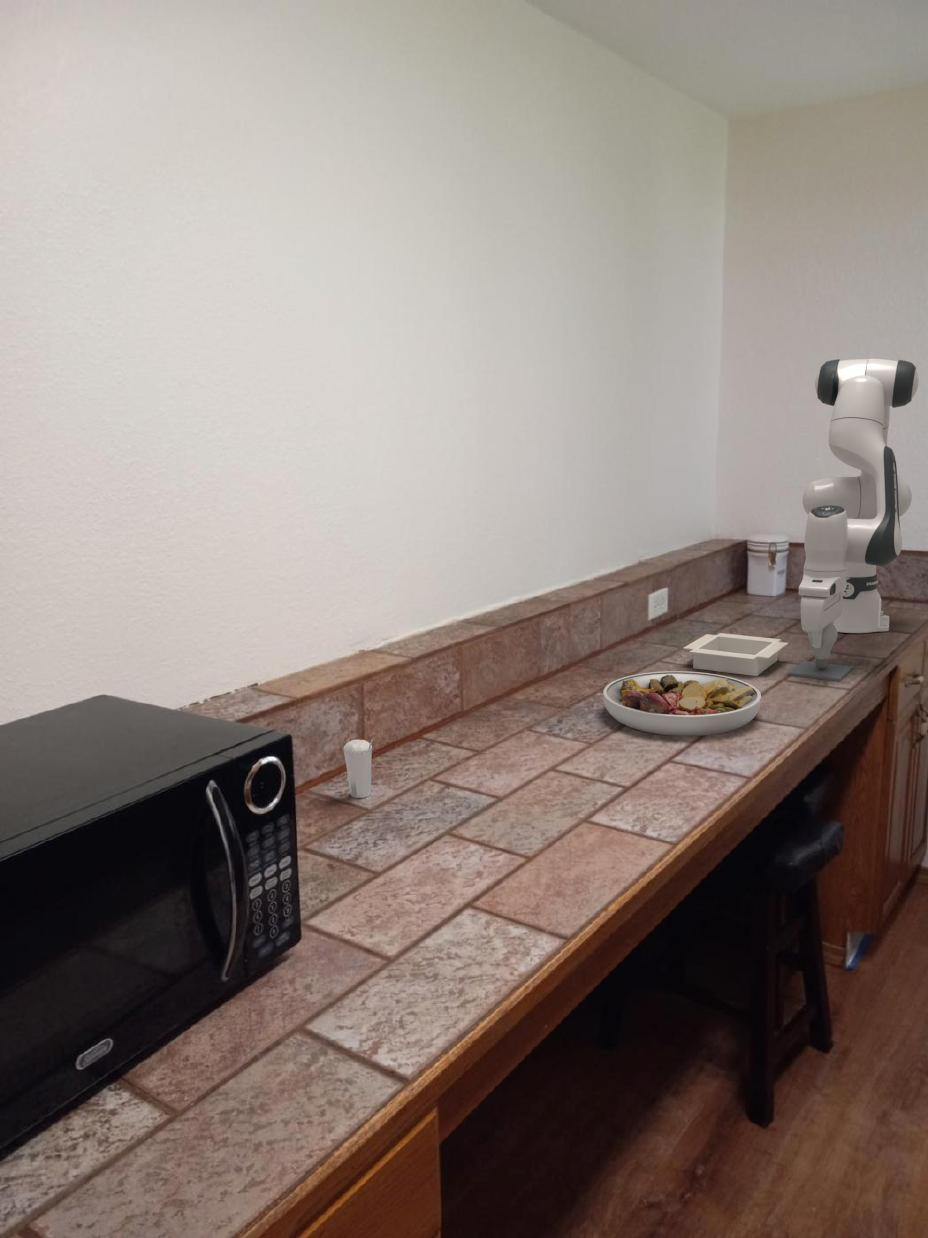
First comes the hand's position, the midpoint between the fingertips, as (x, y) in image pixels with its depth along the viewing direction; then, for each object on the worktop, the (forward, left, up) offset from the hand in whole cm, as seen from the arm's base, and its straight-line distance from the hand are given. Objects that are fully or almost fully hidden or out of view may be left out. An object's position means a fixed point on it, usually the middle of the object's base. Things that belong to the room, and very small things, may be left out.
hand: (821, 643), depth 217 cm
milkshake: (+104, -45, -7) cm, 113 cm away
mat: (0, 0, -6) cm, 7 cm away
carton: (+2, -19, -6) cm, 20 cm away
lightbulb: (0, 0, -6) cm, 6 cm away
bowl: (+42, -16, -7) cm, 45 cm away
